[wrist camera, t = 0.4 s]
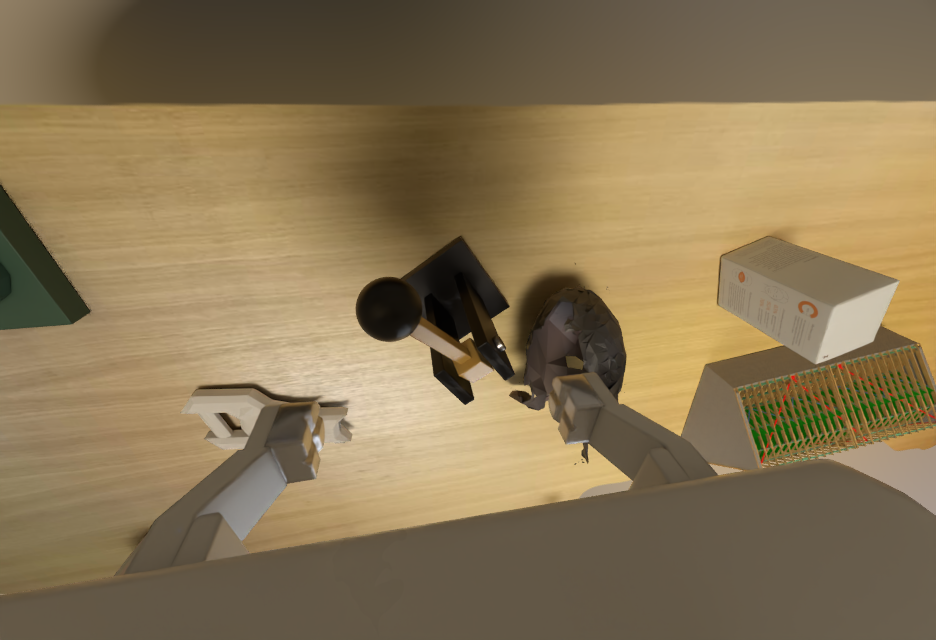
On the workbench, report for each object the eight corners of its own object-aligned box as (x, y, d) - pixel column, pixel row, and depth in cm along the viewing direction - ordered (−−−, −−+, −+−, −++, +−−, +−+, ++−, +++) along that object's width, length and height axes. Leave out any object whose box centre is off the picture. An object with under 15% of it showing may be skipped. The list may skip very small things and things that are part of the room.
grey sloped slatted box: (679, 438, 62) (739, 508, 52) (705, 364, 52) (786, 432, 41) (824, 402, 64) (910, 462, 53) (876, 323, 54) (997, 378, 43)
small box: (761, 286, 45) (874, 343, 34) (716, 305, 46) (814, 366, 35) (769, 233, 41) (903, 279, 30) (719, 254, 41) (834, 307, 30)
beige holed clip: (340, 400, 38) (350, 454, 44) (346, 379, 41) (354, 432, 46) (164, 405, 36) (197, 461, 41) (183, 382, 38) (211, 438, 44)
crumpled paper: (598, 379, 48) (618, 247, 38) (654, 468, 36) (705, 306, 26) (504, 390, 48) (498, 260, 38) (527, 484, 36) (527, 326, 25)
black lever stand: (392, 285, 36) (388, 368, 24) (460, 235, 34) (490, 300, 23) (445, 342, 41) (463, 432, 30) (507, 301, 39) (551, 381, 28)
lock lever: (335, 290, 18) (348, 342, 16) (386, 252, 18) (405, 301, 16) (453, 359, 30) (469, 393, 28) (486, 337, 29) (504, 371, 27)
